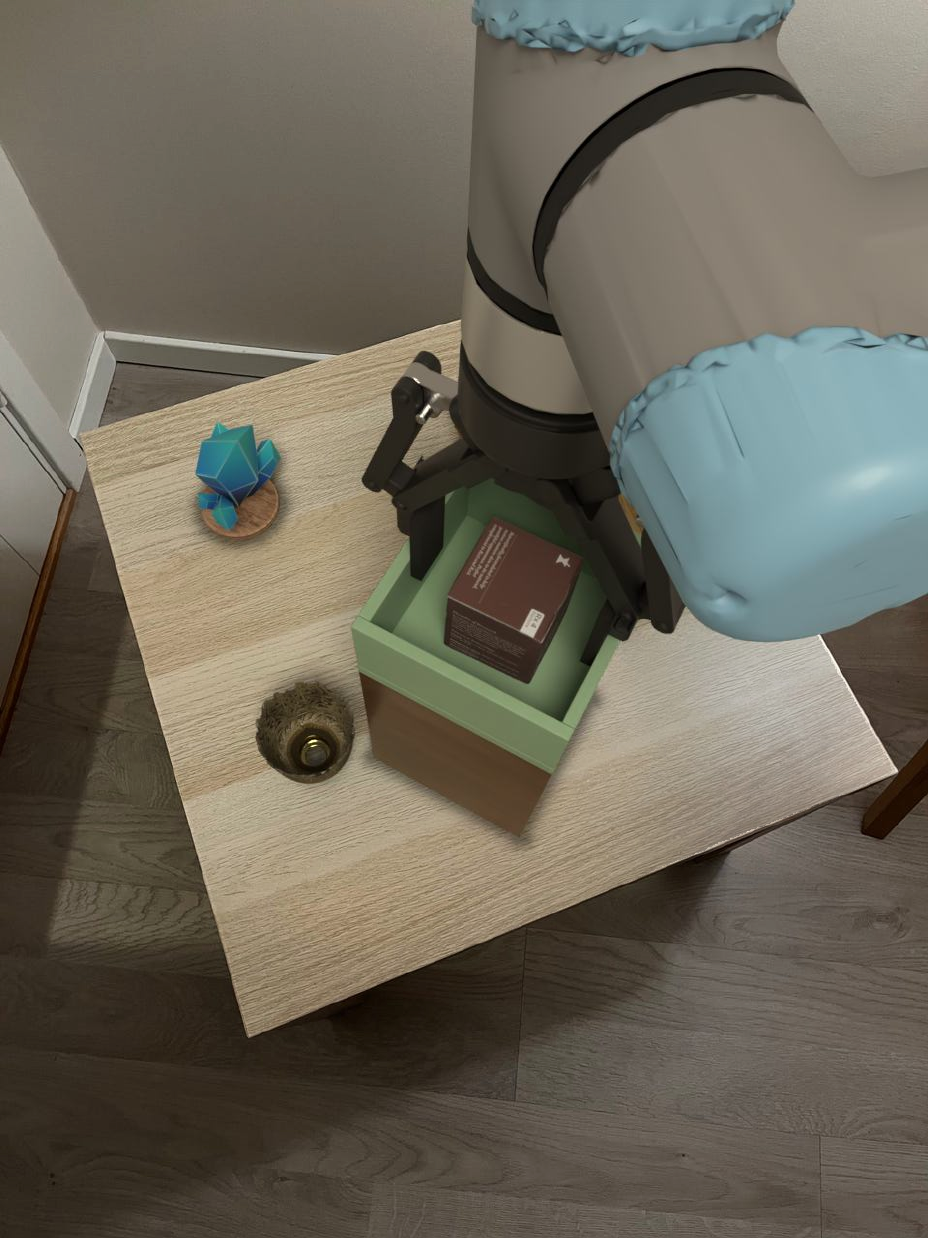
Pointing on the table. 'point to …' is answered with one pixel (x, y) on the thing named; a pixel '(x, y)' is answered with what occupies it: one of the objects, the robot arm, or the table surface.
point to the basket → (459, 685)
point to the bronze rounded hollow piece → (305, 731)
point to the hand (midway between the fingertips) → (509, 602)
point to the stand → (451, 758)
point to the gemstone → (237, 482)
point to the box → (510, 599)
